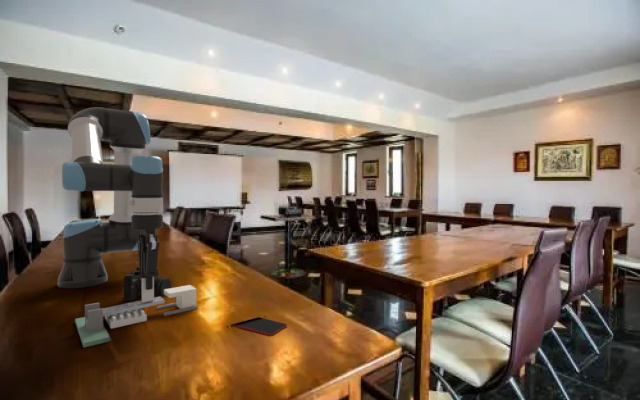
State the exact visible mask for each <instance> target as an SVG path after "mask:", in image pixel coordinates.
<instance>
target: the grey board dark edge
mask: <svg viewBox="0 0 640 400" xmlns="http://www.w3.org/2000/svg"><path fill="white" fill-rule="evenodd" d="M165 301H166V300H165V298H163V296H160V297H158V296H154V300H152V301H147V302H142V299H141V300H137V301H133V302H132V301H130V302H128V303H127V302H126V303H122V304H118V305H112V306H108V307H104V308H103V307H102V308H103V318H104V317H105V316H108V315H113V314H117V313H122V312H126V311H131V310H135V309H140V308H142V309H143V308H148V307H152V306H156V305H157V306H159V305H162V304H165Z"/></svg>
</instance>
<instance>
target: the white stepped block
mask: <svg viewBox="0 0 640 400" xmlns="http://www.w3.org/2000/svg"><path fill="white" fill-rule="evenodd" d="M164 294H165V296H166V297H168V298H169V299H172V298H175V299H176V300H175V301H176V302H175V303H176V306H175V307H177V308H179V309H183V308H187V307H192V306H197V288H196V287H195V286H193V285H191V284H188V285H187V284H186V285H181V286H177V287H171V288H170V289H164Z"/></svg>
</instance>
